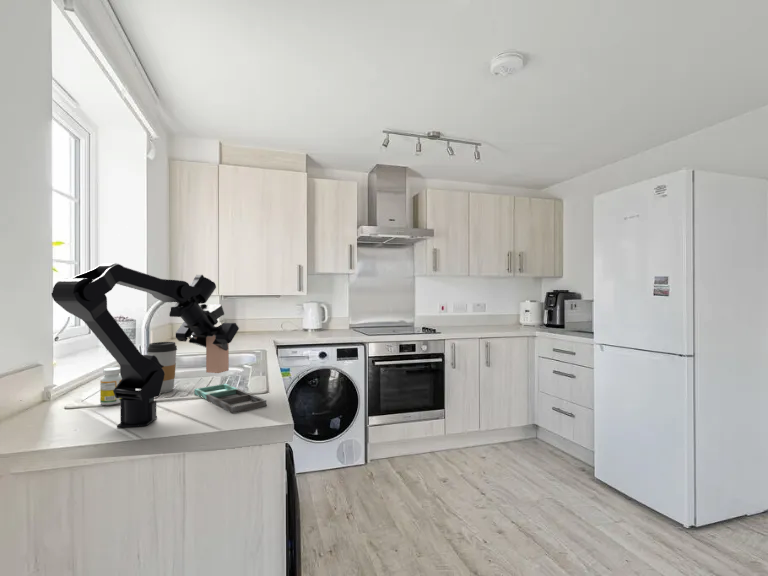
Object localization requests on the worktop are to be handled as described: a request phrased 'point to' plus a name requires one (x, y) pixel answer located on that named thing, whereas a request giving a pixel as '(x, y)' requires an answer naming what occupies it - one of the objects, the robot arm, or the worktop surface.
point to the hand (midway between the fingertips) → (220, 349)
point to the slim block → (216, 357)
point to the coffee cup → (165, 362)
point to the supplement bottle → (109, 386)
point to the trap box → (230, 397)
